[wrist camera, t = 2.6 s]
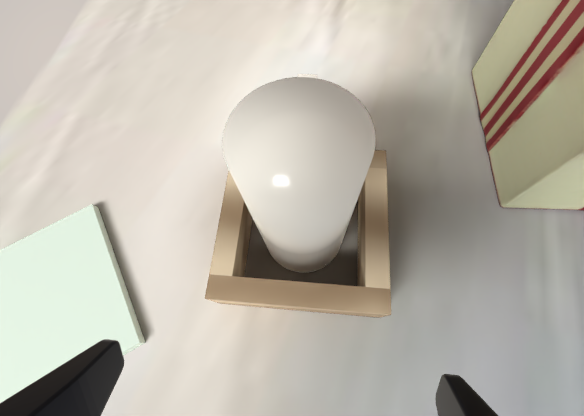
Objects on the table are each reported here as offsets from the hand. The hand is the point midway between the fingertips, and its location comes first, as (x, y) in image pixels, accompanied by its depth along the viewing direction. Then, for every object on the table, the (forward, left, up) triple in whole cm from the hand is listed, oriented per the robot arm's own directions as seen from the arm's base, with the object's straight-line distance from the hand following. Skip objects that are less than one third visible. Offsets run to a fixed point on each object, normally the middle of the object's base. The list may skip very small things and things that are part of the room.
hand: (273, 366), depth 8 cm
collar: (+5, -7, -14) cm, 16 cm away
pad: (+16, +10, -14) cm, 23 cm away
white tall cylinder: (+5, -7, -14) cm, 16 cm away
